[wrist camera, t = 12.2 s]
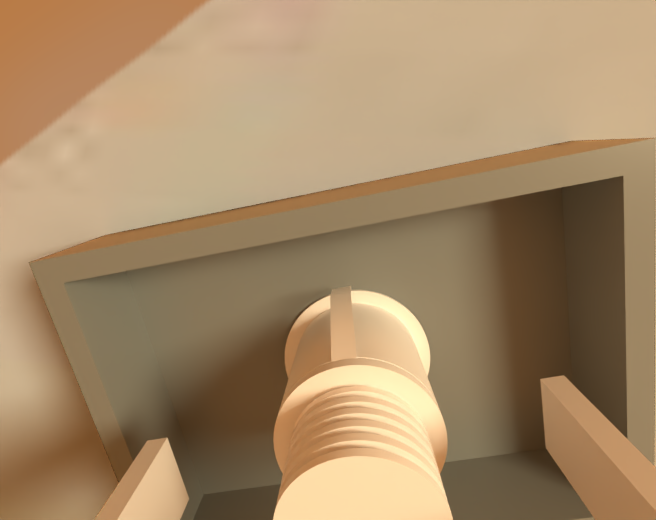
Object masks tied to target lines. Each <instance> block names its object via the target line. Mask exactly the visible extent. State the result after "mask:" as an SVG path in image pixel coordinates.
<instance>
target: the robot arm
mask: <svg viewBox="0 0 656 520" xmlns="http://www.w3.org/2000/svg"><path fill="white" fill-rule="evenodd" d="M540 382H541V394H542V407H543V420H544V432H545V445H546V449H547V450H548V452H549V453H550V455H551V456H552V458H553V459H554V461H555V462H556V463H557V465H558V466H559V468H560V469H561V471H562V472H563V474H564V475H565V477H566V478H567V479H568V481H569V482H570V484H571V485H572V487H573V488H574V490H575V491H576V492H577V494H578V495H579V497H580V498H581V500H582V501H583V503H584V504H585V506H586V507H587V508H588V510H589V511H590V513H591V514H592V516H593V517H594V519H595V520H656V467H655V466H654V465H653V464H652V463H651V462H650V461H649V460H648V459H647V458H646V457H645V456H644V455H643V454H642V453H641V452H640V451H639V450H638V449H637V448H636V447H635V446H634V445H633V444H632V443H631V442H630V441H629V440H628V439H627V438H626V437H625V436H624V435H623V434H622V433H621V432H620V431H619V430H618V429H617V428H616V427H615V426H614V425H613V424H612V423H611V422H610V421H609V420H608V419H607V418H606V417H605V416H604V415H603V414H602V413H601V412H600V411H599V410H598V409H597V408H596V407H595V406H594V405H593V404H592V403H591V402H590V401H589V400H588V399H587V398H586V397H585V396H584V395H583V394H582V393H581V392H580V391H579V390H578V389H577V388H576V387H575V386H574V385H573V384H572V383H571V382H570V381H569V380H568V379H567V378H566V377H565V376H564V375H563V376H556V377H550V378H543V379H540ZM188 500H189V497H188V494H187V491H186V488H185V486H184V483H183V480H182V477H181V474H180V472H179V469H178V466H177V463H176V460H175V458H174V455H173V452H172V449H171V446H170V443H169V441H168V438H161V439H155V440H148V441H147V442H146V443H145V445H144V446H143V448H142V449H141V451H140V452H139V454H138V455H137V457H136V458H135V460H134V461H133V463H132V464H131V466H130V467H129V469H128V470H127V472H126V473H125V475H124V476H123V478H122V479H121V481H120V482H119V484H118V485H117V487H116V488H115V490H114V491H113V493H112V494H111V496H110V497H109V499H108V500H107V501H106V503H105V504H104V506H103V507H102V509H101V510H100V512H99V513H98V515H97V516H96V518H95V519H94V520H180V519H181V516H182V514H183V512H184V510H185V507H186V505H187V503H188Z"/></svg>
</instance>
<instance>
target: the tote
mask: <svg viewBox="0 0 656 520" xmlns="http://www.w3.org/2000/svg"><path fill="white" fill-rule="evenodd" d="M655 218H656V138H638V139H610V140H582V141H568V142H563V143H558V144H554V145H549V146H544V147H539V148H534V149H529V150H524V151H519V152H514V153H509V154H504V155H499V156H494V157H489V158H484V159H479V160H474V161H469V162H464V163H459V164H454V165H450V166H445V167H440V168H435V169H430V170H425V171H420V172H415V173H410V174H405V175H400V176H395V177H390V178H385V179H380V180H375V181H370V182H365V183H360V184H355V185H351V186H346V187H341V188H336V189H331V190H326V191H321V192H316V193H311V194H306V195H301V196H296V197H291V198H286V199H281V200H276V201H271V202H266V203H261V204H256V205H251V206H247V207H242V208H237V209H232V210H227V211H222V212H217V213H212V214H207V215H202V216H197V217H192V218H187V219H182V220H177V221H172V222H167V223H162V224H157V225H152V226H148V227H143V228H138V229H133V230H128V231H123V232H118V233H113V234H108V235H104V236H102V237H99V238H96V239H93V240H90V241H88V242H85V243H82V244H79V245H76V246H74V247H71V248H68V249H65V250H62V251H60V252H57V253H54V254H51V255H48V256H46V257H43V258H40V259H37V260H35V261H32V262H29V264H30V267H31V269H32V272H33V274H34V277H35V279H36V282H37V284H38V286H39V289H40V291H41V294H42V296H43V299H44V301H45V304H46V306H47V308H48V311H49V313H50V316H51V318H52V321H53V323H54V326H55V328H56V330H57V333H58V335H59V338H60V340H61V343H62V345H63V348H64V350H65V352H66V355H67V357H68V360H69V362H70V365H71V367H72V370H73V372H74V374H75V377H76V379H77V382H78V384H79V387H80V389H81V392H82V394H83V396H84V399H85V401H86V404H87V406H88V409H89V411H90V414H91V416H92V418H93V421H94V423H95V426H96V428H97V431H98V433H99V436H100V438H101V440H102V443H103V445H104V448H105V450H106V453H107V455H108V458H109V460H110V462H111V465H112V467H113V470H114V472H115V475H116V477H117V480H118V482H120V481H121V479H122V478H123V476H124V475H125V473H126V472H127V470H128V469H129V467H130V466H131V464H132V463H133V461H134V460H135V458H136V457H137V455H138V454H139V452H140V451H141V449H142V448H143V446H144V445H145V443H146V442H147V441H148V440H155V439H161V438H168V441H169V443H170V446H171V449H172V452H173V455H174V458H175V460H176V463H177V466H178V469H179V472H180V474H181V477H182V480H183V483H184V486H185V488H186V491H187V494H188V497H189V500H188V503H187V505H186V507H185V510H184V512H183V514H182V516H181V519H180V520H273V517H274V512H275V508H276V504H277V499H278V494H279V489H280V486H281V480H282V476H283V473H282V471H281V470H280V467H279V465H278V462H277V459H276V456H275V451H274V442H273V437H274V427H275V423H276V419H277V416H278V413H279V409H280V406H281V403H282V399H283V396H284V393H285V389H286V386H287V382H288V376H287V372H286V367H285V346H286V342H287V338H288V335H289V333H290V330H291V328H292V326H293V324H294V323H295V321H296V320H297V318H298V317H299V316H300V315H301V313H302V312H303V311H304V310H305V309H306V308H308V307H309V306H310V305H311V304H313V303H314V302H316V301H317V300H319V299H321V298H323V297H325V296H327V295H329V294H331V291H332V289H337V288H343V287H348V286H351V290H368V291H373V292H377V293H381V294H383V295H386V296H388V297H391V298H393V299H394V300H396V301H398V302H399V303H401V304H402V305H403V306H405V307H406V308H407V309H408V310H409V311H410V312H411V313H412V314H413V315H414V316H415V317H416V319H417V320H418V321H419V323H420V325H421V326H422V328H423V330H424V332H425V335H426V337H427V340H428V344H429V349H430V368H429V373H428V376H427V377H428V380H429V382H430V385H431V388H432V390H433V393H434V396H435V399H436V401H437V404H438V407H439V409H440V412H441V414H442V417H443V420H444V423H445V426H446V431H447V440H448V444H447V455H446V459H445V463H444V466H443V468H442V471H441V473H440V476H441V480H442V484H443V487H444V490H445V493H446V497H447V501H448V504H449V507H450V510H451V514H452V517H453V520H595V519H594V517H593V516H592V514H591V513H590V511H589V510H588V508H587V507H586V506H585V504H584V503H583V501H582V500H581V498H580V497H579V495H578V494H577V492H576V491H575V490H574V488H573V487H572V485H571V484H570V482H569V481H568V479H567V478H566V477H565V475H564V474H563V472H562V471H561V469H560V468H559V466H558V465H557V463H556V462H555V461H554V459H553V458H552V456H551V455H550V453H549V452H548V450H547V449H546V445H545V432H544V420H543V407H542V394H541V382H540V379H543V378H550V377H556V376H563V375H564V376H565V377H566V378H567V379H568V380H569V381H570V382H571V383H572V384H573V385H574V386H575V387H576V388H577V389H578V390H579V391H580V392H581V393H582V394H583V395H584V396H585V397H586V398H587V399H588V400H589V401H590V402H591V403H592V404H593V405H594V406H595V407H596V408H597V409H598V410H599V411H600V412H601V413H602V414H603V415H604V416H605V417H606V418H607V419H608V420H609V421H610V422H611V423H612V424H613V425H614V426H615V427H616V428H617V429H618V430H619V431H620V432H621V433H622V434H623V435H624V436H625V437H626V438H627V439H628V440H629V441H630V442H631V443H632V444H633V445H634V446H635V447H636V448H637V449H638V450H639V451H640V452H641V453H642V454H643V455H644V456H645V457H646V458H647V459H648V460H649V461H650V462H651V463H652V464H653V465H654V425H655Z"/></svg>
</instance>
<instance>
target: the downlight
mask: <svg viewBox="0 0 656 520" xmlns="http://www.w3.org/2000/svg"><path fill="white" fill-rule="evenodd" d="M285 367H286V372H287V376H288V382H287V386H286V389H285V393H284V396H283V399H282V403H281V406H280V409H279V413H278V416H277V419H276V423H275V427H274V437H273V442H274V451H275V456H276V459H277V462H278V465H279V467H280V470H281V471H282V473H283V476H282V480H281V486H280V489H279V494H278V499H277V504H276V508H275V512H274V517H273V520H453V517H452V514H451V510H450V507H449V504H448V501H447V497H446V493H445V490H444V487H443V484H442V480H441V476H440V473H441V471H442V468H443V466H444V463H445V459H446V455H447V444H448V440H447V431H446V426H445V423H444V420H443V417H442V414H441V412H440V409H439V407H438V404H437V401H436V399H435V396H434V393H433V390H432V388H431V385H430V382H429V380H428V377H427V376H428V373H429V368H430V349H429V344H428V340H427V337H426V335H425V332H424V330H423V328H422V326H421V325H420V323H419V321H418V320H417V319H416V317H415V316H414V315H413V314H412V313H411V312H410V311H409V310H408V309H407V308H406V307H405V306H403V305H402V304H401V303H399V302H398V301H396V300H394V299H393V298H391V297H388V296H386V295H383V294H381V293H377V292H373V291H368V290H351V286H348V287H343V288H337V289H332V291H331V294H329V295H327V296H325V297H323V298H321V299H319V300H317V301H316V302H314V303H313V304H311V305H310V306H309V307H308V308H306V309H305V310H304V311H303V312H302V313H301V315H300V316H299V317H298V318H297V320H296V321H295V323H294V324H293V326H292V328H291V330H290V333H289V335H288V338H287V342H286V346H285Z"/></svg>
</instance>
